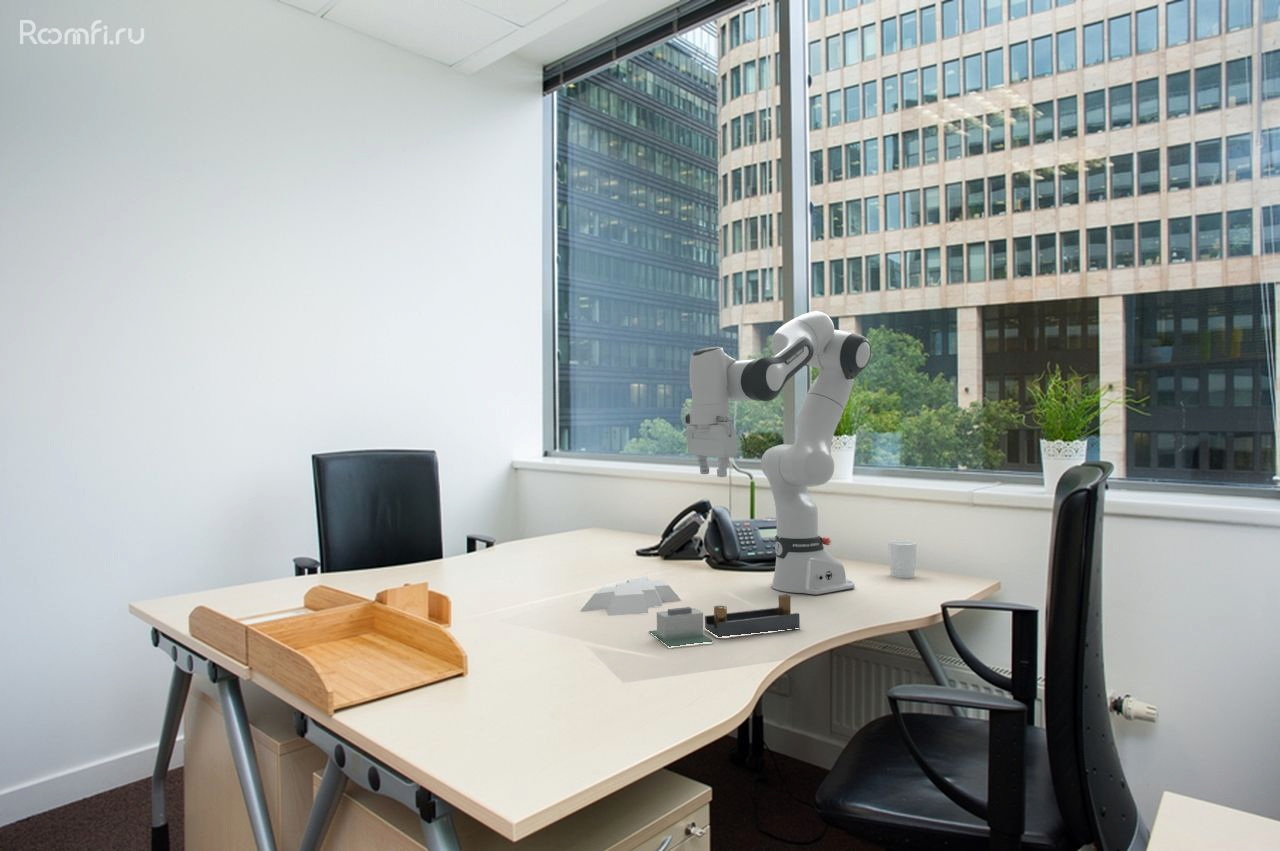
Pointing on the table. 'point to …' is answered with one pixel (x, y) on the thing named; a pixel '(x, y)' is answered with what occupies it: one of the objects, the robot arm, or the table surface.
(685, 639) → the rubber mat
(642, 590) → the white jagged cross block
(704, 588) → the table surface
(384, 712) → the table surface
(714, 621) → the dark grey channel holder
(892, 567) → the white cup
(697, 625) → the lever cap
